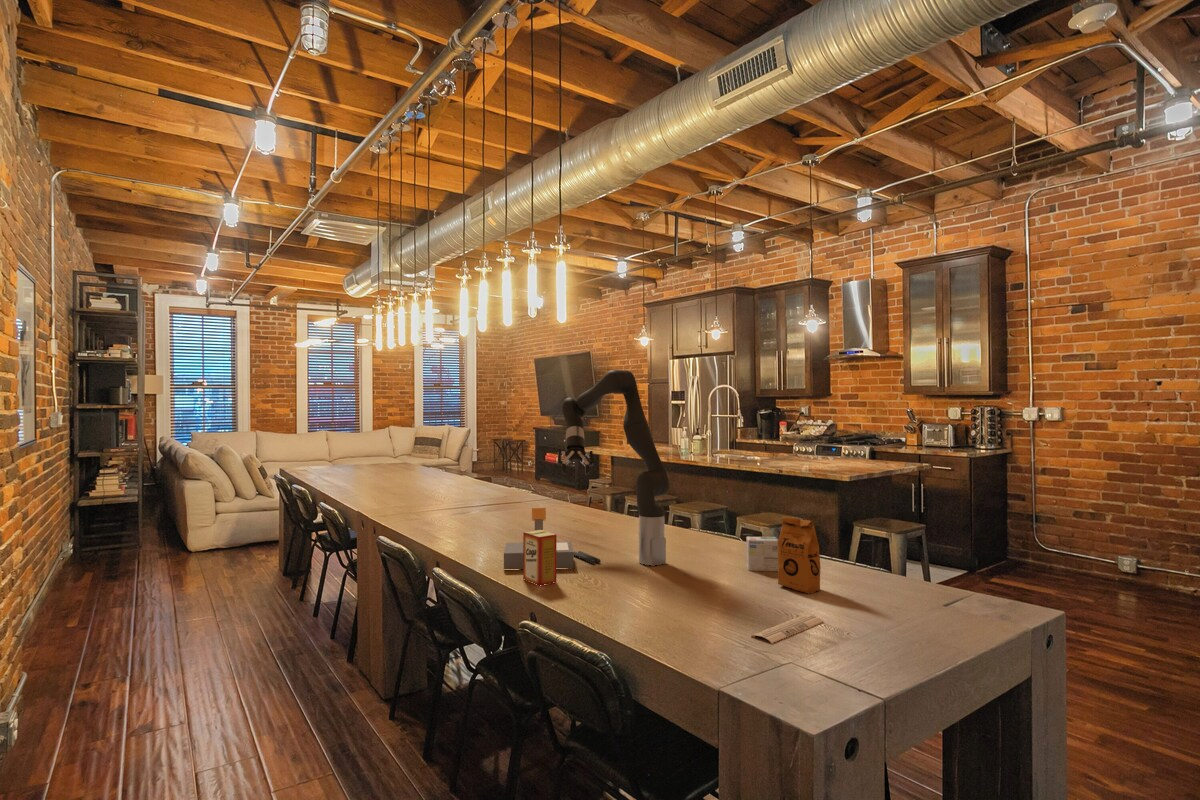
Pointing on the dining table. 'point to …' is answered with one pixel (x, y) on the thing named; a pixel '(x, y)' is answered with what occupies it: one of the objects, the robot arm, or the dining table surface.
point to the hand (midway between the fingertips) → (575, 474)
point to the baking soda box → (539, 557)
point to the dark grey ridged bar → (587, 557)
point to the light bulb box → (762, 553)
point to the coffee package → (798, 556)
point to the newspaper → (789, 628)
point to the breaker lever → (538, 517)
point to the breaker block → (515, 555)
